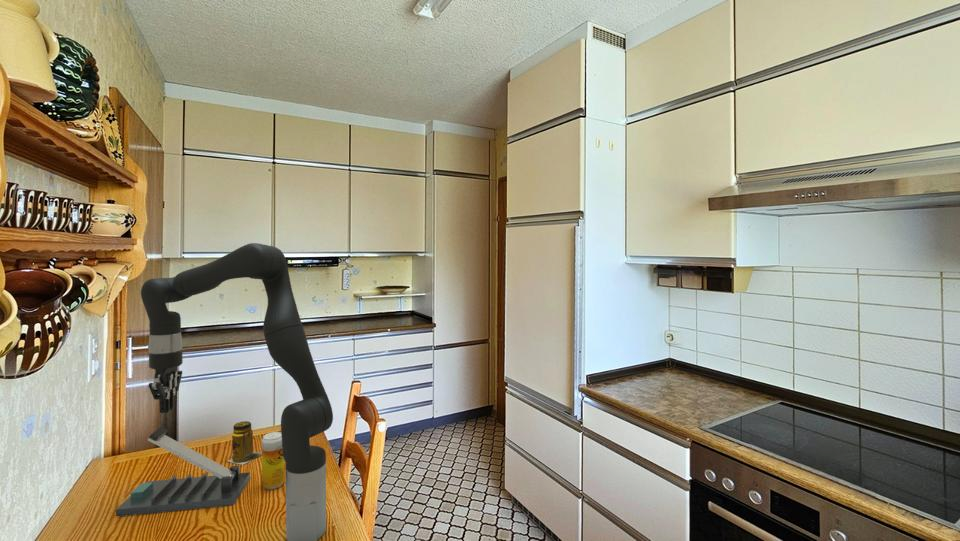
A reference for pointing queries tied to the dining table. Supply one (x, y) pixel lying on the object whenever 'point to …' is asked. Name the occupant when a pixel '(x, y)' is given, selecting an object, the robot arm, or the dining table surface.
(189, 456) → the bar
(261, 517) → the dining table surface
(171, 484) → the clamp base
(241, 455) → the condiment
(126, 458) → the dining table surface
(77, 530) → the dining table surface
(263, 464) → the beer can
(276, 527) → the dining table surface
